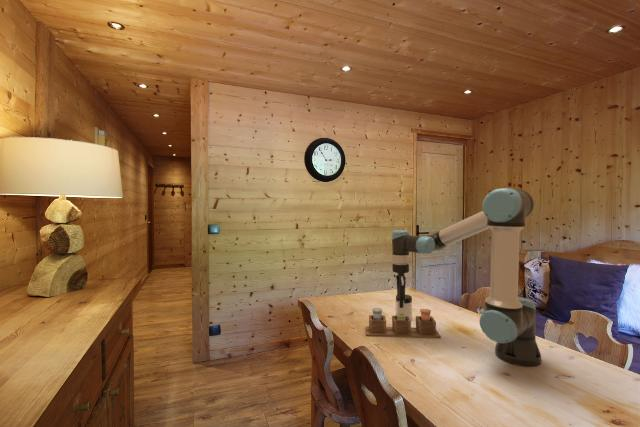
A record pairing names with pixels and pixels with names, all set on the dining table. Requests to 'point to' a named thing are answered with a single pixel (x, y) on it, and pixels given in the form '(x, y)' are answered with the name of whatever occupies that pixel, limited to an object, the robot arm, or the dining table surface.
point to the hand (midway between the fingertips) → (401, 313)
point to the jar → (406, 306)
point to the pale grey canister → (377, 313)
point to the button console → (402, 328)
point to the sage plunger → (401, 316)
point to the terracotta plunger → (425, 314)
